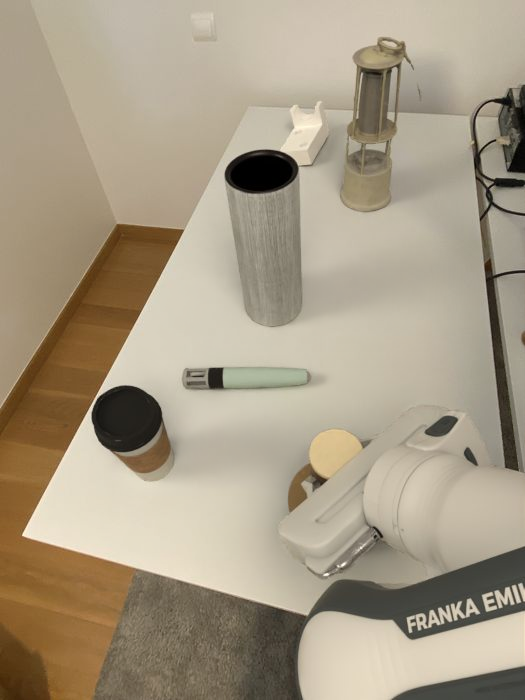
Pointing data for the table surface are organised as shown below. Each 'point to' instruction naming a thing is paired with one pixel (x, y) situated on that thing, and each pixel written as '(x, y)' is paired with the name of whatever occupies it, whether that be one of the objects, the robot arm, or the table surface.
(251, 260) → the vase
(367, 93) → the lamp
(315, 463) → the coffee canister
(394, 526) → the robot arm
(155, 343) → the table surface
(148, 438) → the coffee cup
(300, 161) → the bracket
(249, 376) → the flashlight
